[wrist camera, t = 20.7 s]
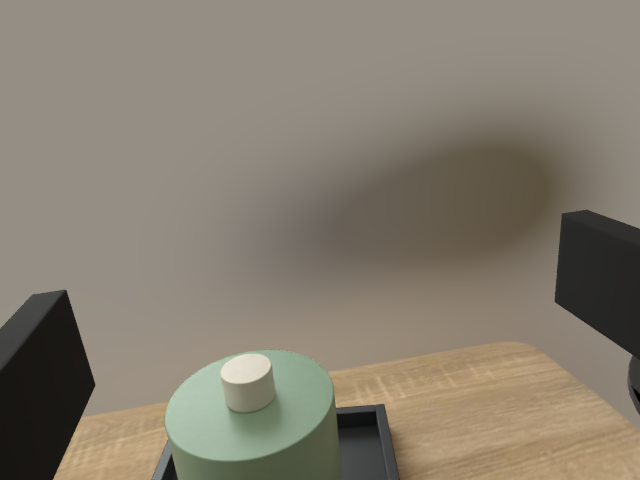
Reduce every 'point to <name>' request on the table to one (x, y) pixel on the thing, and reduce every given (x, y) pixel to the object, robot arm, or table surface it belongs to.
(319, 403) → the cover
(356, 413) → the tray
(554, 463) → the table surface
